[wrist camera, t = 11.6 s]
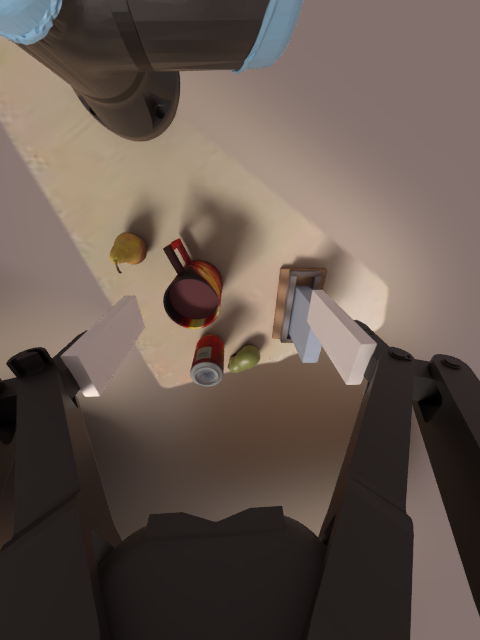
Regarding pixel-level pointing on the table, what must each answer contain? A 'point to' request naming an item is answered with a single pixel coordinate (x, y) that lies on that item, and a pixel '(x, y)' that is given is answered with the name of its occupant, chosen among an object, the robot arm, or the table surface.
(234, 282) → the table surface
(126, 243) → the fruit
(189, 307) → the mug
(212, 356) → the soda can
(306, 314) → the door panel
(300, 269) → the track base
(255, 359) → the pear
